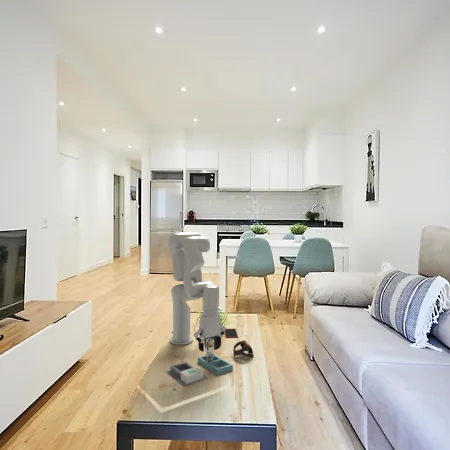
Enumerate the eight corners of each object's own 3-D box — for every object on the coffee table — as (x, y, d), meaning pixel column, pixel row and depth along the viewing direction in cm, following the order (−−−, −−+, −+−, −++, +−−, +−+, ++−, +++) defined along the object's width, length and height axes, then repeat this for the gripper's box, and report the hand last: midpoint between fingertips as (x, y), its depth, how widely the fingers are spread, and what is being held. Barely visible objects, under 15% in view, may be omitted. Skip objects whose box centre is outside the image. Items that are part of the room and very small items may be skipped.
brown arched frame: (255, 360, 170) (248, 347, 168) (238, 367, 172) (230, 355, 170) (254, 345, 182) (247, 333, 180) (238, 352, 183) (230, 340, 181)
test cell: (203, 363, 163) (203, 338, 163) (211, 361, 166) (211, 336, 165) (208, 366, 160) (208, 341, 160) (216, 364, 162) (216, 339, 162)
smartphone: (225, 336, 200) (224, 328, 215) (225, 338, 200) (224, 329, 215) (238, 336, 200) (235, 328, 215) (238, 338, 200) (235, 329, 215)
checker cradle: (165, 374, 154) (165, 364, 154) (188, 367, 161) (188, 357, 161) (183, 389, 141) (183, 377, 141) (208, 380, 148) (208, 370, 148)
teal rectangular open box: (197, 364, 164) (197, 357, 164) (212, 360, 169) (212, 353, 169) (217, 377, 151) (217, 369, 151) (232, 372, 156) (232, 364, 156)
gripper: (220, 307, 170) (220, 341, 171) (190, 312, 160) (189, 349, 161) (230, 310, 164) (229, 346, 165) (199, 317, 154) (198, 355, 155)
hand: (210, 348), depth 163 cm, fingers open, 9 cm apart
